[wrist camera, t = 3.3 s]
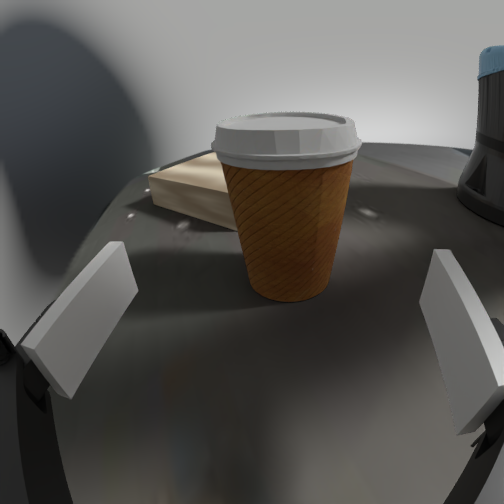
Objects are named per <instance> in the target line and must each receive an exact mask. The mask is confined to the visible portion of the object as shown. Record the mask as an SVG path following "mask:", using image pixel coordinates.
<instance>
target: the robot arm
mask: <svg viewBox="0 0 504 504" xmlns="http://www.w3.org/2000/svg"><path fill="white" fill-rule="evenodd" d="M478 81H479V98H478V100H479V101H478V120H477V131H476V141H475V147H474V149H473V151H472V153H471V156H470V158H469V160H468V162H467V164H466V166H465V168H464V170H463V172H462V175H461V177H460V179H459V183H458V189H457V197H458V198H459V200H460V201H461V202H462V203H463V204H464V205H465V206H467V207H468V208H469V209H471V210H472V211H474V212H475V213H477V214H479V215H481V216H482V217H484V218H486V219H488V220H491V221H493V222H495V223H497V224H500V225H503V226H504V46H492V47H488V48H486V49H484V50H483V51H482V52H481V54H480V57H479V76H478ZM137 292H138V288H137V285H136V282H135V279H134V276H133V272H132V269H131V266H130V263H129V260H128V256H127V253H126V250H125V246H124V243H123V242H109V243H108V244H107V245H106V246H105V247H104V248H103V249H102V250H101V251H100V252H99V253H98V254H97V255H96V256H95V257H94V259H93V260H92V261H91V262H90V263H89V264H88V265H87V266H86V267H85V268H84V269H83V270H82V271H81V273H80V274H79V275H78V276H77V277H76V278H75V279H74V280H73V281H72V283H71V284H70V285H69V286H68V287H67V288H66V289H65V291H64V292H63V293H62V294H61V295H60V296H59V297H58V298H57V299H56V300H55V301H53V302H52V303H51V304H49V305H48V306H47V307H46V309H45V310H44V311H43V312H42V313H41V316H39V317H38V318H37V319H36V322H34V323H33V324H32V326H31V327H30V328H29V329H28V331H27V332H26V333H25V334H24V336H23V337H22V338H21V340H20V341H19V342H18V344H17V345H16V346H15V347H14V345H13V344H12V342H11V341H10V339H9V338H8V336H7V334H6V333H5V332H4V331H3V330H2V329H0V504H73V501H72V498H71V495H70V491H69V488H68V484H67V481H66V477H65V473H64V469H63V465H62V461H61V456H60V451H59V447H58V442H57V436H56V431H55V425H54V419H53V412H52V405H51V397H50V394H49V392H48V391H47V389H48V387H49V385H51V387H52V388H53V389H54V390H55V392H56V393H57V394H59V395H61V396H64V397H66V398H69V399H72V397H73V396H74V394H75V392H76V390H77V389H78V387H79V385H80V383H81V382H82V380H83V378H84V377H85V375H86V373H87V372H88V370H89V368H90V366H91V365H92V363H93V361H94V360H95V358H96V356H97V355H98V353H99V352H100V350H101V348H102V347H103V345H104V343H105V342H106V340H107V339H108V337H109V335H110V334H111V332H112V331H113V329H114V328H115V326H116V324H117V323H118V321H119V320H120V318H121V317H122V315H123V314H124V312H125V310H126V309H127V307H128V306H129V304H130V303H131V301H132V300H133V298H134V297H135V295H136V294H137ZM419 304H420V307H421V309H422V312H423V315H424V318H425V321H426V324H427V327H428V330H429V333H430V336H431V339H432V342H433V345H434V348H435V352H436V355H437V358H438V362H439V365H440V369H441V372H442V376H443V379H444V383H445V387H446V391H447V395H448V399H449V403H450V407H451V412H452V416H453V421H454V426H455V431H456V435H461V434H466V433H471V432H475V431H476V430H477V429H478V428H479V427H480V426H481V425H482V424H483V423H484V425H485V429H486V430H485V431H484V432H483V433H482V434H481V435H480V436H479V437H478V438H477V439H476V440H475V441H474V442H473V444H472V445H471V447H474V446H475V445H476V444H477V443H478V444H477V446H476V448H475V450H474V452H473V454H472V456H471V458H470V460H469V461H468V463H467V465H466V467H465V469H464V471H463V472H462V474H461V476H460V478H459V479H458V481H457V483H456V484H455V486H454V488H453V489H452V491H451V492H450V494H449V496H448V497H447V499H446V500H445V502H444V503H443V504H504V325H503V324H502V323H501V322H500V321H499V320H498V319H497V318H492V319H490V318H489V316H488V314H487V312H486V310H485V308H484V307H483V305H482V303H481V301H480V299H479V297H478V296H477V294H476V292H475V290H474V289H473V287H472V285H471V283H470V282H469V280H468V278H467V277H466V275H465V273H464V272H463V270H462V268H461V267H460V265H459V263H458V262H457V260H456V259H455V257H454V256H453V254H452V252H451V251H450V250H448V249H434V251H433V255H432V259H431V263H430V266H429V270H428V274H427V277H426V281H425V284H424V287H423V291H422V294H421V297H420V300H419Z"/></svg>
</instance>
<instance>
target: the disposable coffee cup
mask: <svg viewBox="0 0 504 504" xmlns="http://www.w3.org/2000/svg"><path fill="white" fill-rule="evenodd" d="M361 144H362V142H361V140H360V139H359V138H358V137H357V133H356V128H355V124H354V121H353V120H352V119H350V118H347V117H343V116H338V115H332V114H323V113H311V112H274V113H261V114H252V115H245V116H239V117H234V118H230V119H227V120H223V121H221V122H219V123H218V124H217V127H216V135H215V140H214V141H213V142H212V144H211V148H212V150H213V151H214V152H216V156H217V159H218V160H219V161H221V165H222V170H223V174H224V178H225V182H226V185H227V190H228V194H229V198H230V202H231V206H232V210H233V214H234V219H235V222H236V227H237V231H238V235H239V239H240V243H241V247H242V251H243V255H244V259H245V263H246V267H247V272H248V275H249V280H250V284H251V286H252V288H253V289H254V290H255V291H256V292H258V293H259V294H260V295H262V296H264V297H266V298H269V299H272V300H276V301H284V302H296V301H302V300H306V299H310V298H312V297H314V296H316V295H318V294H319V293H321V292H322V291H323V290H324V289H325V288H326V287H327V285H328V282H329V278H330V274H331V270H332V265H333V261H334V257H335V253H336V248H337V243H338V239H339V234H340V230H341V224H342V219H343V215H344V209H345V205H346V199H347V193H348V189H349V182H350V176H351V171H352V164H353V159H355V157H356V156H357V150H358V149H359V148H360V147H361Z"/></svg>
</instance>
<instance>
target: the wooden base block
mask: <svg viewBox="0 0 504 504" xmlns="http://www.w3.org/2000/svg"><path fill="white" fill-rule="evenodd" d="M148 179H149V184H150V189H151V194H152V199H153V203H154V205H157V206H160V207H164V208H167V209H170V210H173V211H176V212H179V213H183V214H186V215H189V216H192V217H195V218H198V219H201V220H204V221H208V222H211V223H214V224H217V225H220V226H223V227H226V228H229V229H232V230H235V231H237V227H236V222H235V219H234V214H233V210H232V206H231V202H230V198H229V194H228V190H227V185H226V182H225V178H224V174H223V170H222V165H221V161H219V160H218V159H217V156H216V152H213V153H210V154H207V155H204V156H201V157H198V158H195V159H193V160H190V161H187V162H184V163H181V164H179V165H176V166H173V167H171V168H168V169H165V170H163V171H160V172H158V173H155V174H152V175H150V176H148Z"/></svg>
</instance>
